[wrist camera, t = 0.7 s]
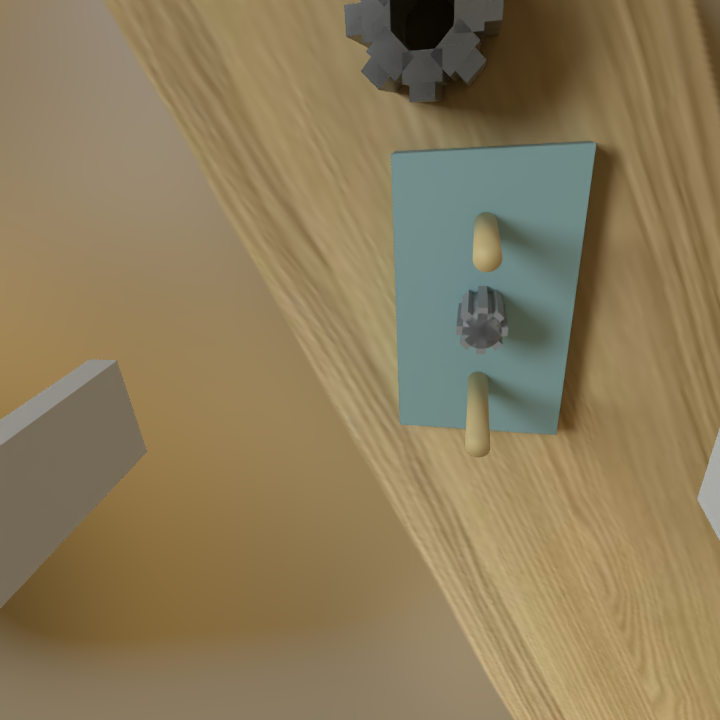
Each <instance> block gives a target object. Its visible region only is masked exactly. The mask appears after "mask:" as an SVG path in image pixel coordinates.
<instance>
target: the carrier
mask: <svg viewBox="0 0 720 720" xmlns="http://www.w3.org/2000/svg"><path fill="white" fill-rule="evenodd" d="M595 150H596V143H595V142H591V141H584V142H565V143H546V144H527V145H508V146H490V147H471V148H452V149H433V150H414V151H395V152H393V153H392V154H391V166H392V197H393V228H394V259H395V290H396V321H397V351H398V382H399V413H400V424H403V425H418V426H433V427H448V428H463V429H466V444H465V448H466V451H467V452H468V453H469V454H470V455H471V456H474V457H483V456H485V455H487V454H488V453H489V451H490V431H489V430H493V431H508V432H523V433H538V434H553V435H556V434H557V427H558V419H559V412H560V405H561V397H562V390H563V383H564V376H565V368H566V361H567V354H568V346H569V339H570V332H571V325H572V317H573V310H574V303H575V295H576V288H577V281H578V274H579V266H580V259H581V252H582V244H583V237H584V230H585V223H586V215H587V208H588V201H589V193H590V186H591V179H592V171H593V164H594V157H595Z"/></svg>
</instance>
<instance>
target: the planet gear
mask: <svg viewBox="0 0 720 720" xmlns="http://www.w3.org/2000/svg"><path fill="white" fill-rule="evenodd" d="M418 1H419V0H361V3H357V4H348V5H344V8H345V24H346V36H347V37H348V38H350V39H352V40H354V41H356V42H358V43H360V44H362V45H364V46H366V47H367V48H368V50H367V51H366V52H367V53H368V54H369V55H370V56H371V58H370V59H369V61H368V62H367V64H366V65H365V66H364V68H363V69H362V70H361V72H362V73H363V74H364V75H365V76H366V77H367V78H368V79H369V80H370V81H371V82H372V83H373V84H374V85H375V86H376V87H377V88H378V89H379V90H382V91H388V92H394V93H396V92H397V91H398V90H399V88H400V87H401V86H402V85H407V86H409V92H410V102H418V103H424V102H437V101H443V86H446V85H449V76H450V77H451V78H452V79H453V80H454V81H456V80H457V79H458V78H459V77H460V78H461V79H462V80H463V81H464V82H465V83H466V84H467V86H468V87H469V86H470V85H471V84H472V83H473V82H474V81H475V79H476V78H477V77H478V76H479V75H480V74H481V73H482V71H483V70H484V69H485V68H486V61H487V60H486V59H485V57H484V56H483V55H482V54H481V53H480V44H483V41H484V37H488V36H498V35H499V32H500V28H501V24H502V21H503V5H504V0H448V1H449V2H450V3H451V4H452V6H453V7H454V25H453V27H452V28H451V29H450V30H449V32H448V33H447V34H446V35H445V37H444V38H443V39H442V40H441V42H440V43H439V44H438V45H437V47H436V48H435V49H425V50H415V51H412V50H411V49H410V48H409V47H408V46H407V45H406V17H407V16H408V15H409V13H410V12H411V11H412V9H413V8H414V7H415V5H416V4H417V3H418Z"/></svg>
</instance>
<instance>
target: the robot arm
mask: <svg viewBox="0 0 720 720" xmlns="http://www.w3.org/2000/svg"><path fill="white" fill-rule="evenodd" d="M146 452H147V450H146V447H145V444H144V441H143V438H142V435H141V432H140V429H139V426H138V423H137V420H136V417H135V414H134V411H133V408H132V405H131V402H130V399H129V396H128V393H127V390H126V387H125V384H124V381H123V378H122V375H121V372H120V369H119V365H118V362H117V361H114V360H88V361H87V362H85V363H84V364H82V365H81V366H79V367H78V368H76V369H75V370H74V371H72V372H71V373H69V374H68V375H66V376H65V377H63V378H62V379H60V380H59V381H57V382H56V383H55V384H53V385H51V386H50V387H48V388H47V389H45V390H44V391H43V392H41V393H39V394H38V395H36V396H35V397H34V398H32V399H30V400H29V401H27V402H26V403H25V404H23V405H22V406H20V407H19V408H17V409H16V410H14V411H13V412H11V413H10V414H8V415H7V416H5V417H4V418H2V419H1V420H0V608H1V607H2V606H3V605H4V604H5V603H6V602H7V601H8V600H9V599H10V598H11V597H12V595H13V594H14V593H15V592H16V591H17V590H18V589H19V588H20V587H21V586H22V585H23V584H24V583H25V582H26V580H27V579H28V578H29V577H30V576H31V575H32V574H33V573H34V572H35V571H36V570H37V569H38V568H39V567H40V566H41V564H42V563H43V562H44V561H45V560H46V559H47V558H48V557H49V556H50V555H51V554H52V553H53V552H54V550H56V548H57V547H58V546H59V545H60V544H61V543H62V542H63V541H64V540H65V539H66V538H67V537H68V536H69V535H70V534H71V532H72V531H73V530H74V529H75V528H76V527H77V526H78V525H79V524H80V523H81V522H82V521H83V520H84V519H85V518H86V516H87V515H88V514H89V513H90V512H91V511H92V510H93V509H94V508H95V507H96V506H97V505H98V504H99V502H100V501H101V500H102V499H103V498H104V497H105V496H106V495H107V494H108V493H109V492H110V491H111V490H112V489H113V488H114V487H115V485H116V484H117V483H118V482H119V481H120V480H121V479H122V478H123V477H124V476H125V475H126V474H127V473H128V471H130V469H131V468H132V467H133V466H134V465H135V464H136V463H137V462H138V461H139V460H140V459H141V458H142V457H143V455H145V453H146ZM697 500H698V502H699V503H700V505H701V507H702V509H703V511H704V513H705V514H706V516H707V518H708V520H709V522H710V524H711V526H712V527H713V529H714V531H715V533H716V535H717V537H718V539H719V540H720V429H719V432H718V435H717V438H716V442H715V445H714V448H713V451H712V454H711V457H710V460H709V464H708V467H707V470H706V473H705V476H704V479H703V482H702V485H701V489H700V492H699V495H698V498H697Z"/></svg>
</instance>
